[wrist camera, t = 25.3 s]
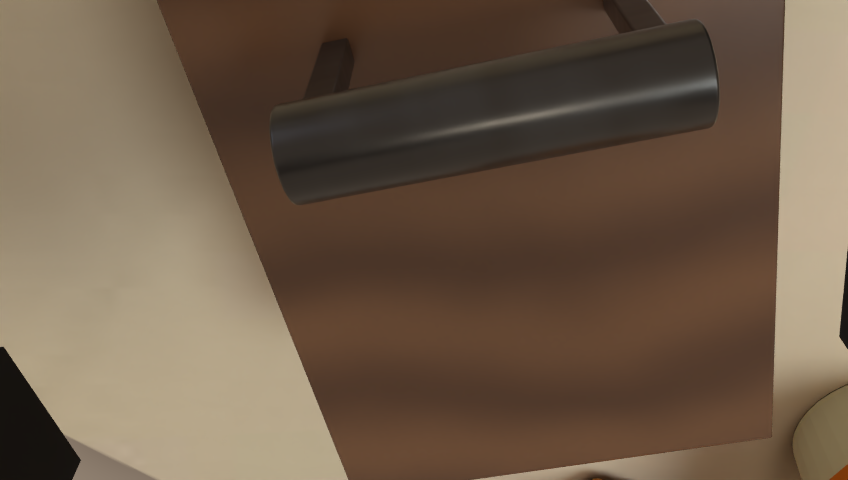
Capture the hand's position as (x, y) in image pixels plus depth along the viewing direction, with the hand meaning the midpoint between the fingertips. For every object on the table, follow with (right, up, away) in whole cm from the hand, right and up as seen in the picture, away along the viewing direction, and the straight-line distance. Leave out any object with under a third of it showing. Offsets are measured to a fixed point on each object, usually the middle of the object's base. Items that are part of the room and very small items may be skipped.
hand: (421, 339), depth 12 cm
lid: (+3, +2, +12) cm, 12 cm away
